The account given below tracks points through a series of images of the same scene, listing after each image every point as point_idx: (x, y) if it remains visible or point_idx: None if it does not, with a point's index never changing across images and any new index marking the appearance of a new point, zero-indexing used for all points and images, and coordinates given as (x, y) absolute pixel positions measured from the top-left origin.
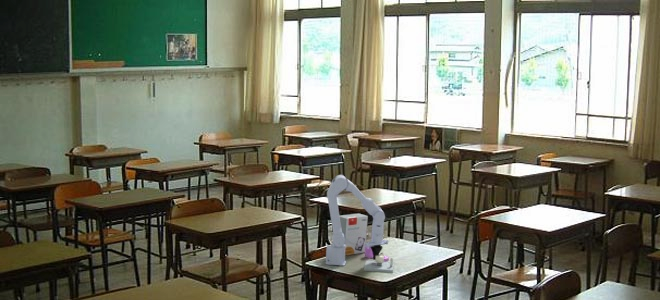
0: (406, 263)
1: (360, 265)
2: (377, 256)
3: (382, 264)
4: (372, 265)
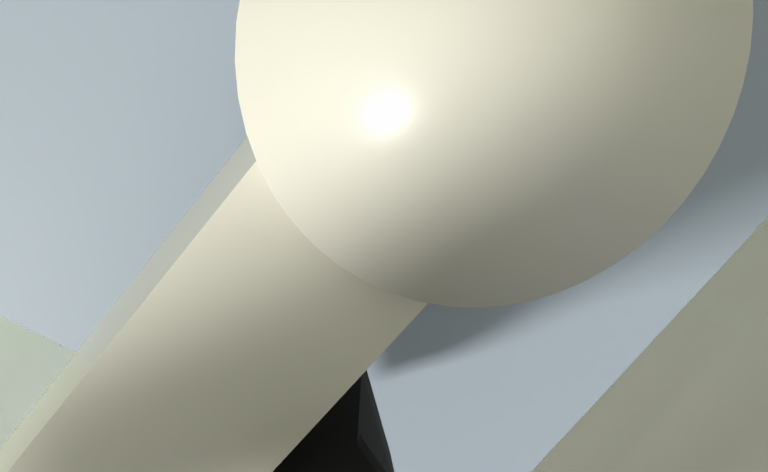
0: None
1: (692, 365)
2: (641, 107)
3: None
4: None
